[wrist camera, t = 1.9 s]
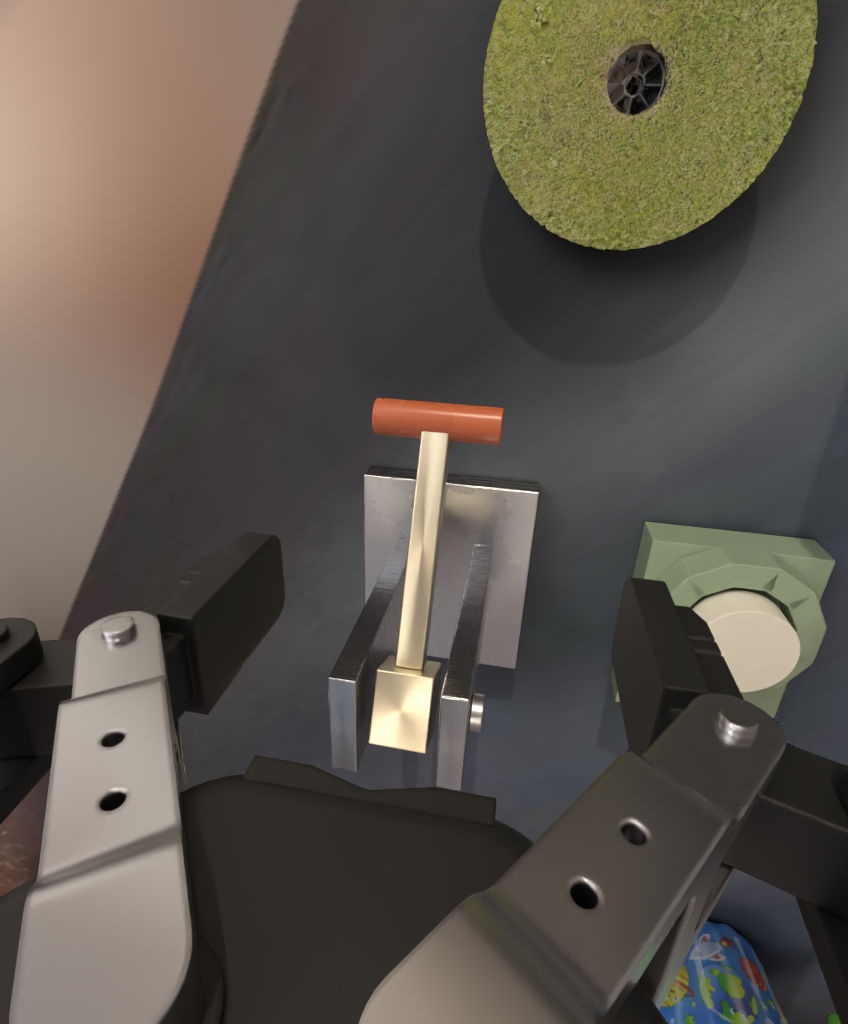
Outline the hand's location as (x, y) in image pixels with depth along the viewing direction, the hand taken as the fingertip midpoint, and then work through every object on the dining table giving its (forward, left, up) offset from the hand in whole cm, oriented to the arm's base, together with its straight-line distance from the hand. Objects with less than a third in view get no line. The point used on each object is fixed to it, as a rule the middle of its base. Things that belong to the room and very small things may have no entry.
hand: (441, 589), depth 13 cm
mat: (-13, +4, -17) cm, 22 cm away
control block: (+10, +12, -17) cm, 23 cm away
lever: (+5, -2, -9) cm, 10 cm away
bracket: (+9, -2, -17) cm, 19 cm away
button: (+8, +12, -13) cm, 20 cm away
